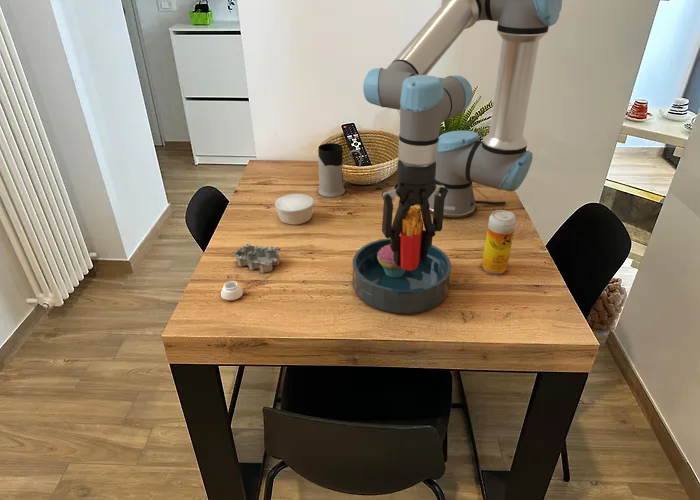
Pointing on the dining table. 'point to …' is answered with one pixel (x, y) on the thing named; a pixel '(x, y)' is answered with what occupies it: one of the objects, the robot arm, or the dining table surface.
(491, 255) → the beer can
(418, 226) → the french fries
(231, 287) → the lidless jar
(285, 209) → the ramekin
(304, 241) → the dining table surface
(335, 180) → the glass holder
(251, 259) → the egg carton
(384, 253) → the cupcake
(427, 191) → the robot arm
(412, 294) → the bowl
